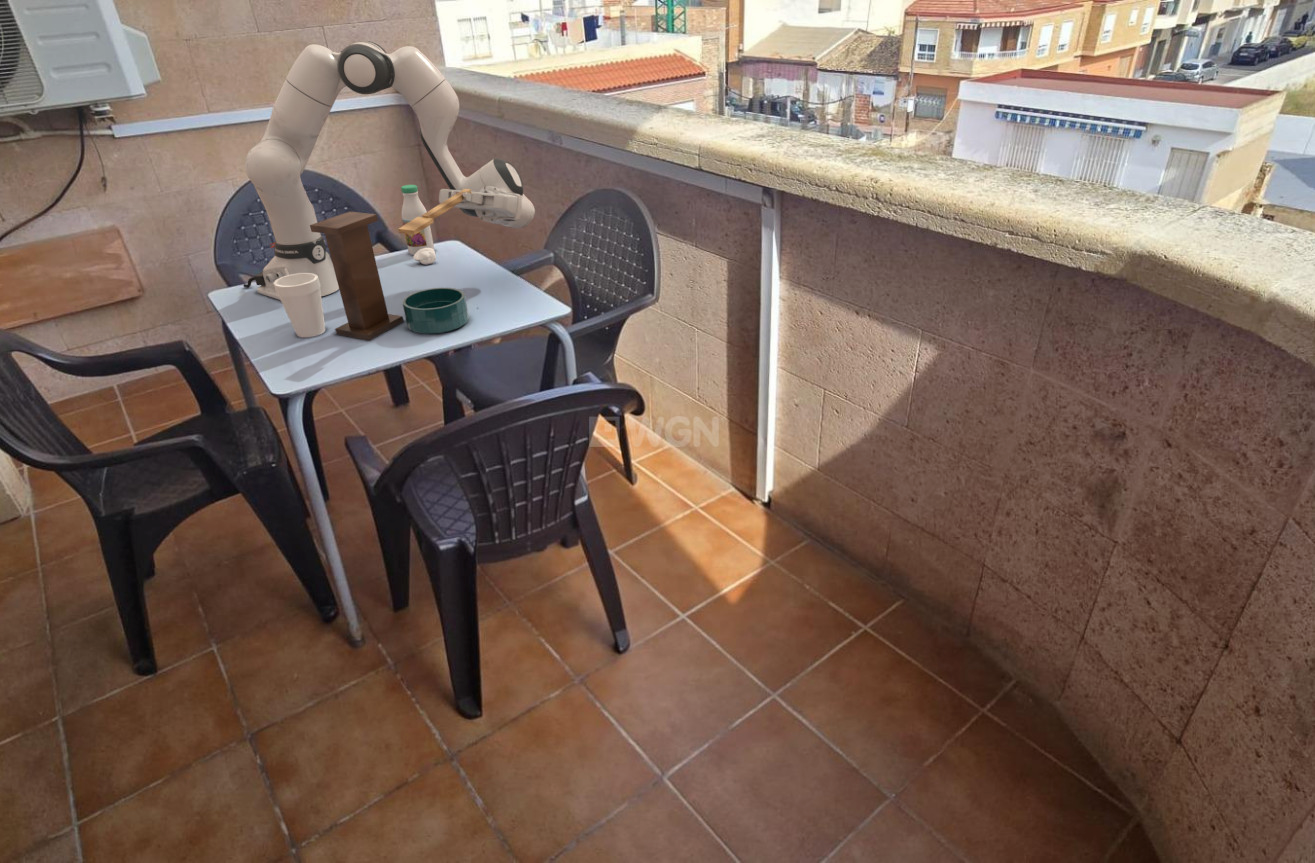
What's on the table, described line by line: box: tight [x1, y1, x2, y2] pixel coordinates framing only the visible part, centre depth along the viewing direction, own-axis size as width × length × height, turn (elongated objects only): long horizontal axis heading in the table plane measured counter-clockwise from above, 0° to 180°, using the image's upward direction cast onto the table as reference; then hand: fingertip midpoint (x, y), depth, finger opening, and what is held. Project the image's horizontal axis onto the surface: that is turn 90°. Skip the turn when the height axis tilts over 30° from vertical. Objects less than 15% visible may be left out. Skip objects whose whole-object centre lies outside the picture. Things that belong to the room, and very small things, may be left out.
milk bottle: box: [400, 184, 435, 256], centre depth 221 cm, size 8×8×20 cm
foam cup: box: [273, 273, 326, 338], centre depth 171 cm, size 10×9×13 cm
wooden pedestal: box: [310, 211, 405, 341], centre depth 169 cm, size 10×12×26 cm
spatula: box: [398, 189, 472, 235], centre depth 168 cm, size 24×4×1 cm, turn 157°
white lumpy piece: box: [412, 248, 437, 266], centre depth 217 cm, size 7×5×4 cm
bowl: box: [401, 287, 470, 335], centre depth 175 cm, size 14×14×6 cm
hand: (459, 195), depth 174 cm, fingers closed on spatula
